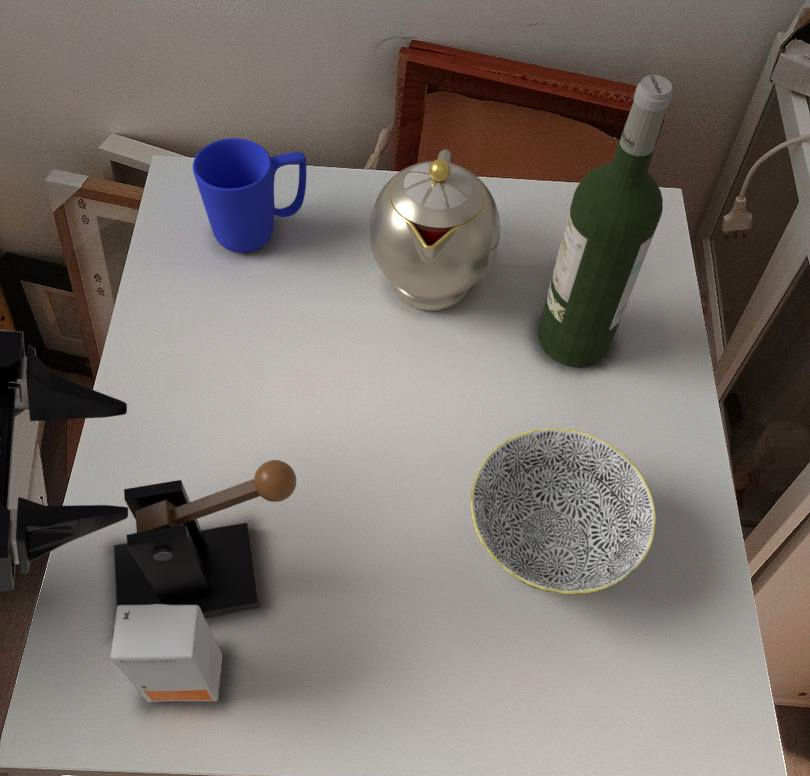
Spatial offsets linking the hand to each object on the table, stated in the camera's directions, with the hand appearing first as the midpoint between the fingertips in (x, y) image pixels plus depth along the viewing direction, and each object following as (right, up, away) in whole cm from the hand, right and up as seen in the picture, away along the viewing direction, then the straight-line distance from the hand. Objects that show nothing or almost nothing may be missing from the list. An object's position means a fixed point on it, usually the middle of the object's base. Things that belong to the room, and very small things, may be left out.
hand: (127, 458), depth 61 cm
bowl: (+34, -7, +16) cm, 38 cm away
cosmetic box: (+2, -18, +9) cm, 20 cm away
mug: (+4, +28, +34) cm, 44 cm away
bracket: (+1, -10, +13) cm, 17 cm away
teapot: (+24, +22, +32) cm, 46 cm away
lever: (+7, -4, +4) cm, 9 cm away
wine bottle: (+39, +14, +28) cm, 50 cm away
